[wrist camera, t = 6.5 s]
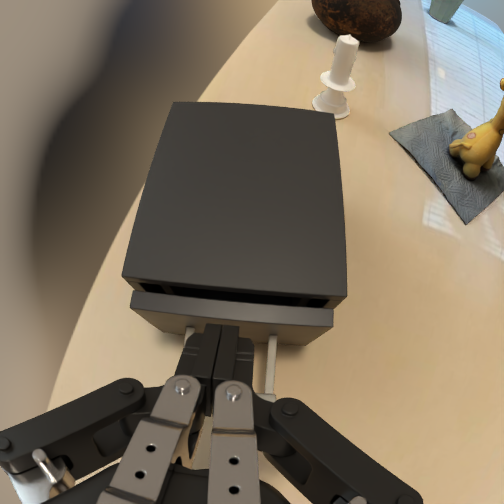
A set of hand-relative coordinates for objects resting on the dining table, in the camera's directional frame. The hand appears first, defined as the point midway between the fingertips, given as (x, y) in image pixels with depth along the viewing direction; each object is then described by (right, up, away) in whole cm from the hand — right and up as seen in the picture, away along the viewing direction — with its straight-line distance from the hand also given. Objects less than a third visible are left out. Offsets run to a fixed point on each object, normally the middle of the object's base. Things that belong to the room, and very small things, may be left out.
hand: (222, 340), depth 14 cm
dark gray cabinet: (0, +5, +18) cm, 18 cm away
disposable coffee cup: (+58, +74, +50) cm, 107 cm away
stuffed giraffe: (+32, +18, +24) cm, 44 cm away
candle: (+12, +24, +26) cm, 38 cm away
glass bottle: (+21, +49, +38) cm, 65 cm away
